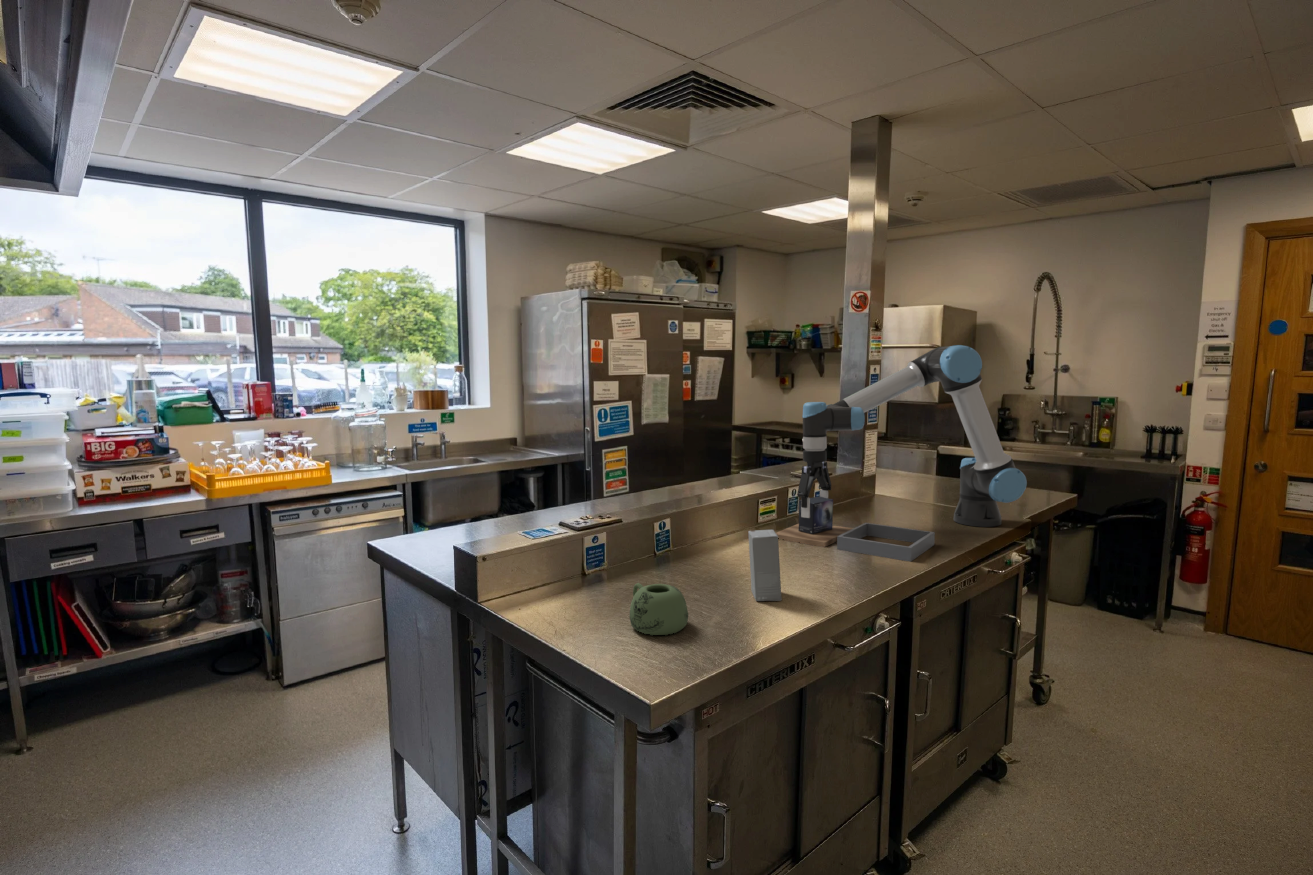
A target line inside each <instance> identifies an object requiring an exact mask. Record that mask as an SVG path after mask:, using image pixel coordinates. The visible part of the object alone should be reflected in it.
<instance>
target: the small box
mask: <svg viewBox="0 0 1313 875" xmlns="http://www.w3.org/2000/svg"><path fill="white" fill-rule="evenodd" d="M809 498H810V518H805V517H801V499H799V501H798V502H799V503H798V523H799V529H798V531H801V532H805V533H809V534H816V533H820V532H824V531H828V530H832V525H833V517H834V515H833V514H834V499H833V498H829V497H828V498H824V497H820V495H819V496H813V497H809Z"/></svg>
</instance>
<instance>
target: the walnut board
mask: <svg viewBox="0 0 1313 875" xmlns="http://www.w3.org/2000/svg"><path fill="white" fill-rule="evenodd" d="M853 528H854V527H847V526H846V527H845V526H840V525H834V524H832V530H828V531H824V532H820V533H816V534H809V533H805V532H801V531H798V529H799V522H798V523H797V524H794V525H792V526H789V527H787V528H783V530H779V531H777V532H775V533H776V534H777V536H778V538H779V539H778V540H780V539H784V540H783V541H787V542H792V541H793V542H792V543H798V542H800V543H799V544H804V543H805V544H804V545H810V546H815V545H816V547H821V546H822V547H823V548H826V547H828V546H830V545H832V544H834V543H835V542H836V543H837V536H839V535H841V534H843V533H845V532H847V531H849V530H851V529H853ZM822 547H821V548H822Z"/></svg>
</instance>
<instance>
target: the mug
mask: <svg viewBox="0 0 1313 875" xmlns="http://www.w3.org/2000/svg"><path fill="white" fill-rule="evenodd" d="M632 597H633V598H632V600H631V602H630V607H629V608H630V609H629V620H630V626H631V627H632V628H633V629H634V630H636V631H637V632H638V631H639V633H640V632H642V633H641V634H643V633H644V635H646V634H650V635H649V636H653V635H665V636H669V635H668V634H670V635H673V633H674V634H676V633H678V632H681V631H682V629H683V630H684V628H685V627H686V625H688V621H689V610H688V605H687V602H686V599H685V597H684V595H683V593H682V591H681V590H680V589H678V588H677V587H675V586H674V585H671V584H664V583H653V584H648V585H643V584H641V583H640V582H637V583H635V584H634V586H633V588H632Z"/></svg>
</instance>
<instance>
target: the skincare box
mask: <svg viewBox="0 0 1313 875" xmlns="http://www.w3.org/2000/svg"><path fill="white" fill-rule="evenodd" d="M747 533H748V550H749V551H748V553H749V568H750V569H749V570H750V572H749V573H750V589H751V590H750V591H751V593H752V596H753V598H754V600H755V601H756V602H765V601H766V602H768V601H769V602H770V601H771V602H773V601H774V602H776V601H777V602H779V601H780V602H781V601H782V585H781V582H782V581H781V569H780V568H781V567H780V549H779V548H780V547H779V539H778V536H777V534H776V533H777V532H775V530H774V529H760V530H748V532H747Z"/></svg>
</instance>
